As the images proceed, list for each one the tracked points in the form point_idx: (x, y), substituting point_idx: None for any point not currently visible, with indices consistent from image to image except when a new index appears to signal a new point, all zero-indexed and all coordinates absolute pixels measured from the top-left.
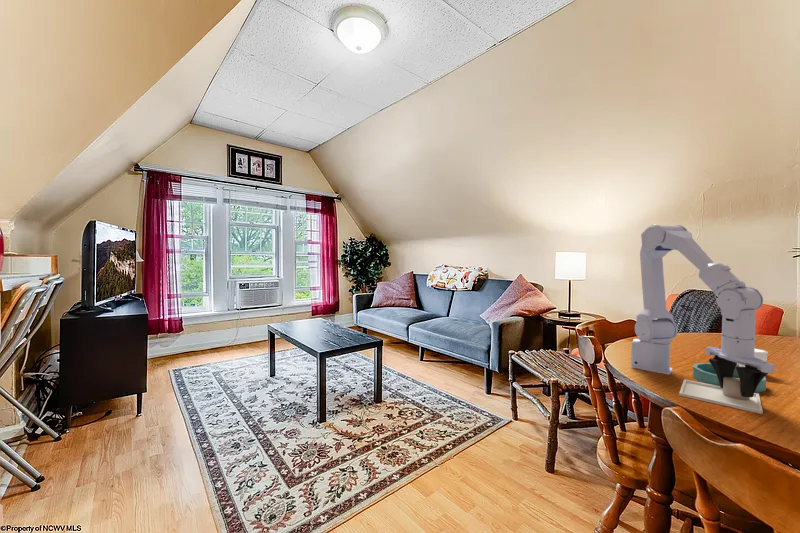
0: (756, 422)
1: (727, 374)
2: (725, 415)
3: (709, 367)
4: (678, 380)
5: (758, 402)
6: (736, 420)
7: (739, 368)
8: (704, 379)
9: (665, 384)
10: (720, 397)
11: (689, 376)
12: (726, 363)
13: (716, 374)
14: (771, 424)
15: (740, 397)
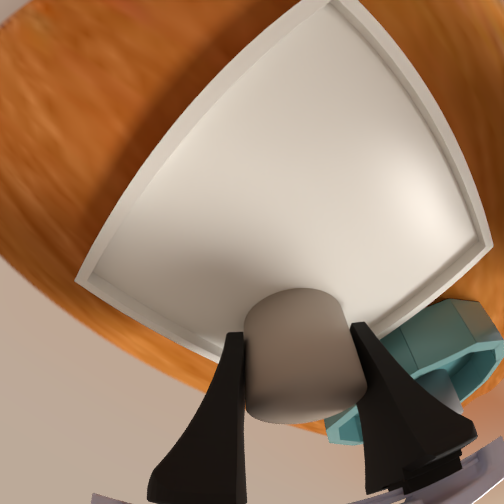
0: (19, 189)
1: (370, 406)
2: (55, 90)
3: (470, 379)
4: (500, 239)
5: (188, 343)
6: (16, 111)
7: (202, 502)
8: (450, 321)
9: (498, 126)
10: (283, 243)
11: (490, 307)
12: (389, 466)
13: (445, 373)
14: (24, 235)
15: (249, 323)
